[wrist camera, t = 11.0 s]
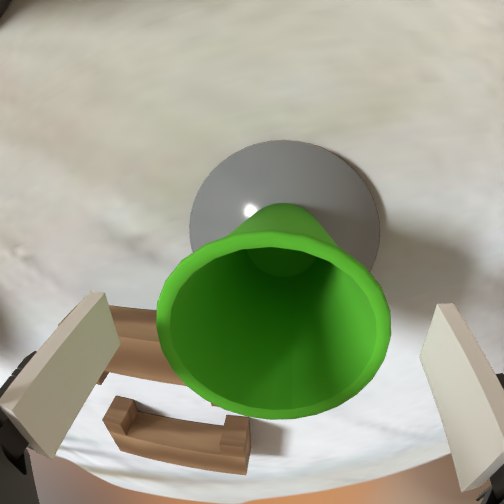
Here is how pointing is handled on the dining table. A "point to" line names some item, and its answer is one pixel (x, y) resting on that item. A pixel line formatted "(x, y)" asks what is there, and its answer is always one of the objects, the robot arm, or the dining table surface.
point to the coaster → (288, 195)
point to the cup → (274, 318)
